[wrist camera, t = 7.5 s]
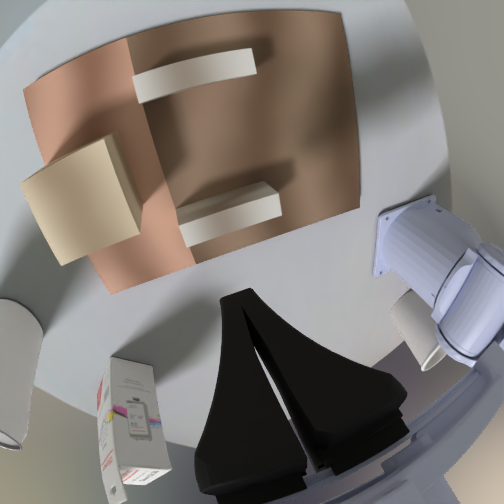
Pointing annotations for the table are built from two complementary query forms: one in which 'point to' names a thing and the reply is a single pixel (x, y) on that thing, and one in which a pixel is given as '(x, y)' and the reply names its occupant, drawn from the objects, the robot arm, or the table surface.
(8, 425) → the can
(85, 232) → the maple block
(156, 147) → the board
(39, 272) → the table surface
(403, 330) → the dixie cup
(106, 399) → the ink cartridge box
